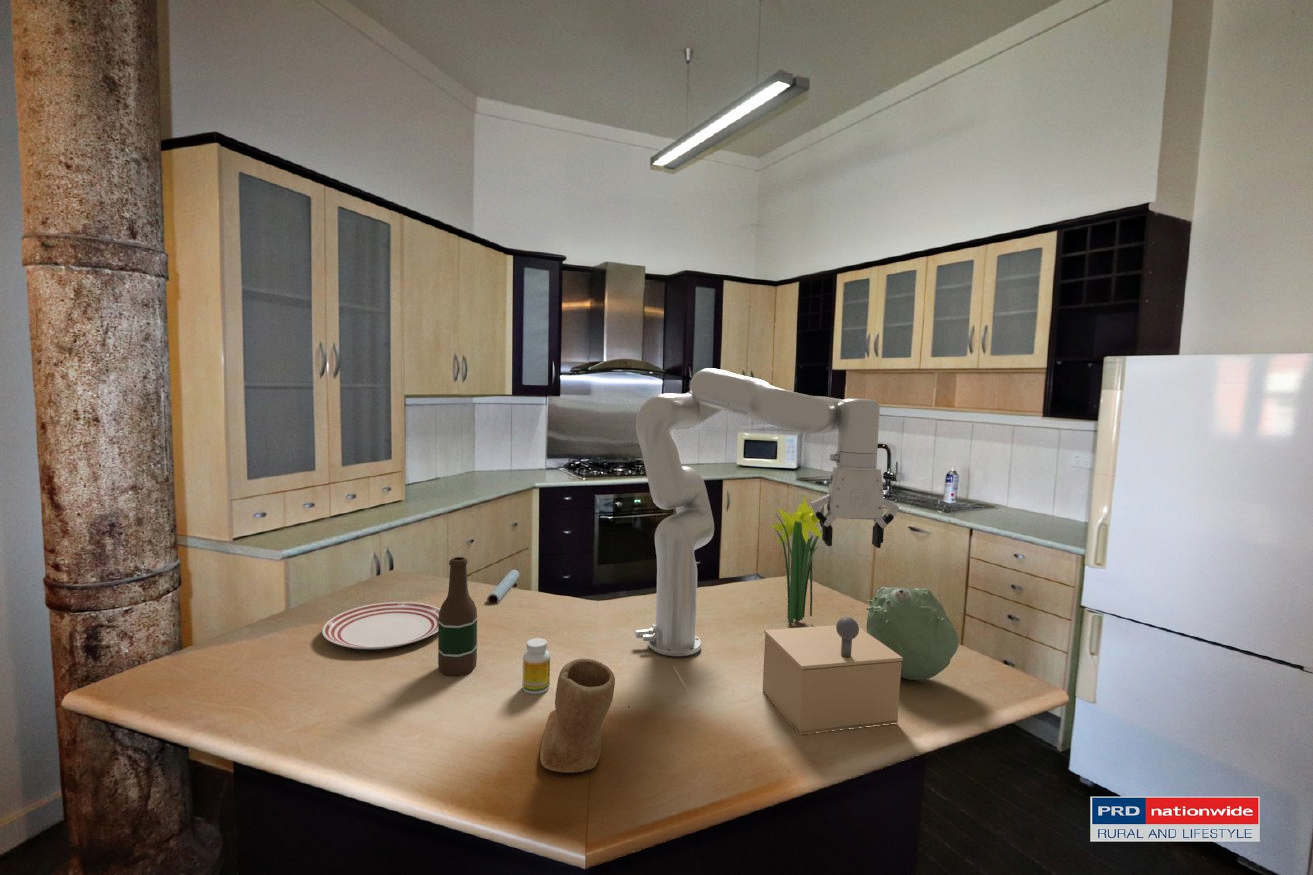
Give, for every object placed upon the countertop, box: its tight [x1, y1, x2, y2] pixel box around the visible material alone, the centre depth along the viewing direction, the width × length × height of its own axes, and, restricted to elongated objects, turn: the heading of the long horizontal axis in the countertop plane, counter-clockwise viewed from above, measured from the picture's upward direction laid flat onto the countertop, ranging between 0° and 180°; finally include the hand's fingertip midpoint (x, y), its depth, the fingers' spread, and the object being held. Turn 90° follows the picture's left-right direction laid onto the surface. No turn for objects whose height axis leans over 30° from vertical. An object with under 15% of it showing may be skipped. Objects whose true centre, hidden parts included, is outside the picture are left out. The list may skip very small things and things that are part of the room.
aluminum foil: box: [486, 569, 520, 604], centre depth 175 cm, size 23×7×3 cm, turn 179°
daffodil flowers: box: [769, 495, 825, 624], centre depth 159 cm, size 17×15×35 cm
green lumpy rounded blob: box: [865, 586, 960, 681], centre depth 129 cm, size 16×19×20 cm
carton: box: [762, 633, 902, 736], centre depth 115 cm, size 20×16×12 cm
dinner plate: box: [321, 601, 441, 650], centre depth 143 cm, size 27×27×3 cm
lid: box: [763, 616, 903, 669], centre depth 114 cm, size 20×16×8 cm
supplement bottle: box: [522, 637, 551, 695], centre depth 119 cm, size 5×5×10 cm
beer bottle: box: [437, 556, 478, 678], centre depth 125 cm, size 8×8×24 cm
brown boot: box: [539, 658, 616, 774], centre depth 99 cm, size 15×12×15 cm
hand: (852, 545), depth 119 cm, fingers open, 9 cm apart
